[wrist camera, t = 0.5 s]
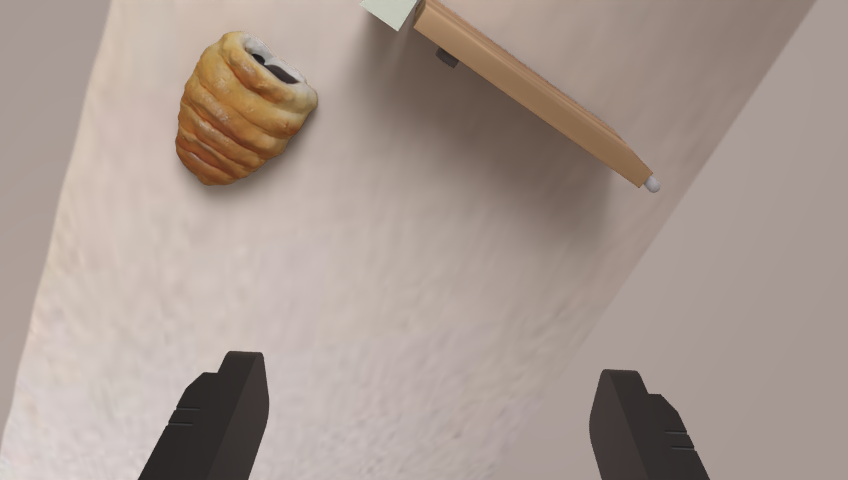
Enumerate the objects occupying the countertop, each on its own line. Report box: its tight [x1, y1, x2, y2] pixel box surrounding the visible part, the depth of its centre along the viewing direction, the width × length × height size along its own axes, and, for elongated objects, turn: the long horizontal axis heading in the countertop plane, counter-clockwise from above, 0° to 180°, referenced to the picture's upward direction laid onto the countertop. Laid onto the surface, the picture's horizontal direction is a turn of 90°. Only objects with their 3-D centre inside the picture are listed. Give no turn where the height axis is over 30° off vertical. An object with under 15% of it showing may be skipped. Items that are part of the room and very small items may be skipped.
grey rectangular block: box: [360, 0, 660, 193], centre depth 30 cm, size 2×17×8 cm, turn 56°
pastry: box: [175, 31, 318, 185], centre depth 34 cm, size 9×7×4 cm
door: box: [413, 0, 653, 188], centre depth 31 cm, size 2×14×7 cm, turn 56°
